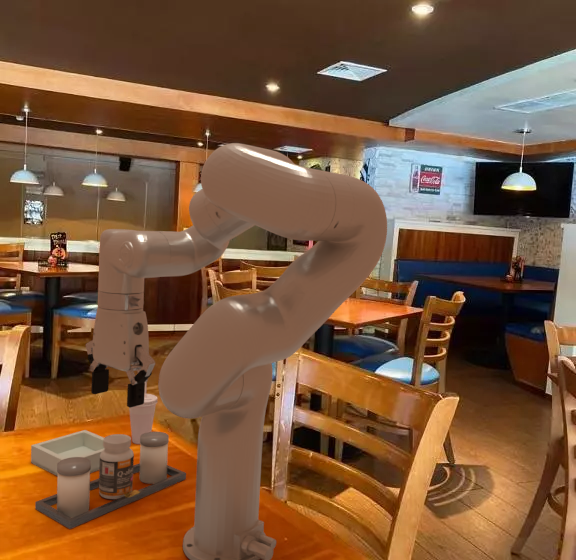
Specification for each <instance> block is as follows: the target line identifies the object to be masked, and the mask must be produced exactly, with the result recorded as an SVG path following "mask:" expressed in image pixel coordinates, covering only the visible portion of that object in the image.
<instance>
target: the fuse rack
mask: <svg viewBox="0 0 576 560" xmlns="http://www.w3.org/2000/svg"><path fill="white" fill-rule="evenodd" d="M137 473H140V462H139V463H136V464H133V475H135V474H137ZM167 475H169V477H167V478H166V479H164V480H162V481H159V482H157V483H155V484H150V485H148V486H145V487H143V488H140V489H133V490H132V491H131V492H129V493H126V494H124V496H123V497H121V498H119V499H113V500H112V501H109V502H107V503H104V504H102V505H99V506H97V507H95V508H92V509H89V511H87V512H85V513H83V514H80V515H78V516H75V517H73V518H70V517H69V516H67V515H65V514H63V513H62V512H60V511H58V510H57V508H55V507H53V505H57V493H56V494H52V495H49V496H48V497H45V498H43V499H39V500H37V501H35V507H34V509H35V510H37V511H38V512H40V513H42V514H43V515H45V516H47V517H49V518H50V519H52V520H53V521H55V522H57V523H59V524H60V525H62V526H63V527H65V528H67V529H69V530H72V529H74V528H76V527H78V526H81V525H83V524H85V523H87V522H90V521H92V520H94V519H96V518H99V517H101V516H103V515H106V514H108V513H111V512H113V511H115V510H117V509H120V508H123V507H124V506H127V505H129V504H131V503H134V502H136V501H138V500H141V499H142V498H144V497H147V496H150V495H152V494H154V493H157V492H159V491H162V490H163V489H166V488H168V487H171V486H173V485H176V484H177V482H178V483H180V482H182V481H185V480H187V479H186V478H187V472H186V471H183V470H180V469H178V468H175V467H173V466H170V465H168V464H167ZM95 489H99V478H95V479H93V480H90V491H92V490H95Z"/></svg>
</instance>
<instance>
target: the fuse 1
mask: <svg viewBox="0 0 576 560" xmlns="http://www.w3.org/2000/svg"><path fill="white" fill-rule="evenodd" d="M90 469H91V461H90V460H89V459H87V458H83V457H71V458H66V459H63V460H61V461H59V462H58V463H57V472H58V476H57V480H56V481H57V482H56V483H57V486H56V487H57V488H56V492H57V493H56V494H57V503H56V510H58V511H60V512H62V513H63V514H65V515H67V516H69V517H70V518H73V517H75V516H78V515H80V514H83V513H85V512H87V511H90V491H91V490H90V481H91V473H90Z"/></svg>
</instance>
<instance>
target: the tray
mask: <svg viewBox="0 0 576 560" xmlns="http://www.w3.org/2000/svg"><path fill="white" fill-rule="evenodd" d="M104 438H105V437H104V436H100V435H98V434H97V433H94V432H91V431H88V430H87V429H84V430H81V431H76V432H73V433H69V434H66V435H62V436H59V437H55V438H52V439H49V440H46V441H42V442H39V443H38V442H37V443H35V444H31V445H30V447H31V448H30V450H31V452H30V454H31V455H30V463H31V464H32V465H34V466H37V467H38V468H40V469H42V470H44V471H46V472H48V473H50V474H52V475H54V476H56V477H58V472H57V463H58V462H59V461H61V460H63V459H66V458H71V457H83V458H87V459H89V460H90V461H91V469H90V474H92V473H94V472H99V467H100V454H101V452H102V451H103V450H104V449H105V448H104V447H103V439H104Z"/></svg>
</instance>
